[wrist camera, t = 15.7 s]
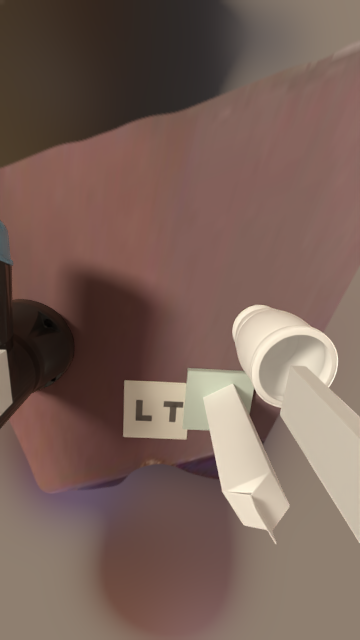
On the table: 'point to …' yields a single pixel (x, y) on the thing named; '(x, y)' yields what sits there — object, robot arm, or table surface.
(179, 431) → the tile
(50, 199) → the table surface
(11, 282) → the robot arm
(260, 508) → the milk
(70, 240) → the table surface
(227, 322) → the table surface
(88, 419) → the table surface
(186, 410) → the coaster
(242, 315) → the jar
